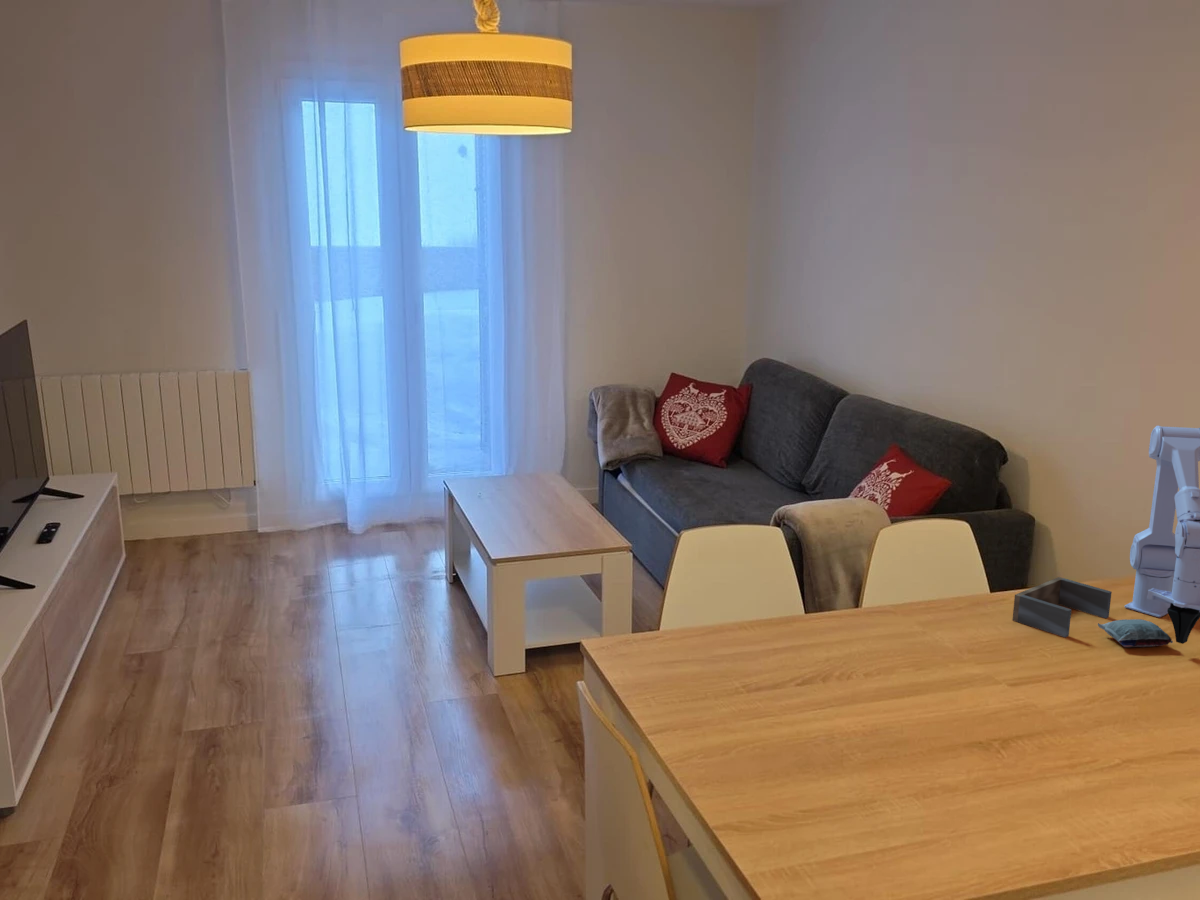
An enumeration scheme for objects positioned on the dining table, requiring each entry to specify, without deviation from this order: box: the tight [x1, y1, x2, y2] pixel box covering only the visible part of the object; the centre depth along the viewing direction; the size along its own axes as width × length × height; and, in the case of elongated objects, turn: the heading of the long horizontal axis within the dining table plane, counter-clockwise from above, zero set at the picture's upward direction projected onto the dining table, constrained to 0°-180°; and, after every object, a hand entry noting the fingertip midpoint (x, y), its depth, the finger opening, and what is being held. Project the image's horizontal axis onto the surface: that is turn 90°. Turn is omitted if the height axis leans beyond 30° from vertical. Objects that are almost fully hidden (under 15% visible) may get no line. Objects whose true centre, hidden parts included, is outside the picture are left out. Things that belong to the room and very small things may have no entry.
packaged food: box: [1097, 618, 1174, 648], centre depth 219 cm, size 9×12×5 cm
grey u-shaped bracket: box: [1011, 576, 1113, 638], centre depth 231 cm, size 19×12×6 cm, turn 128°
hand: (1181, 641), depth 212 cm, fingers closed
